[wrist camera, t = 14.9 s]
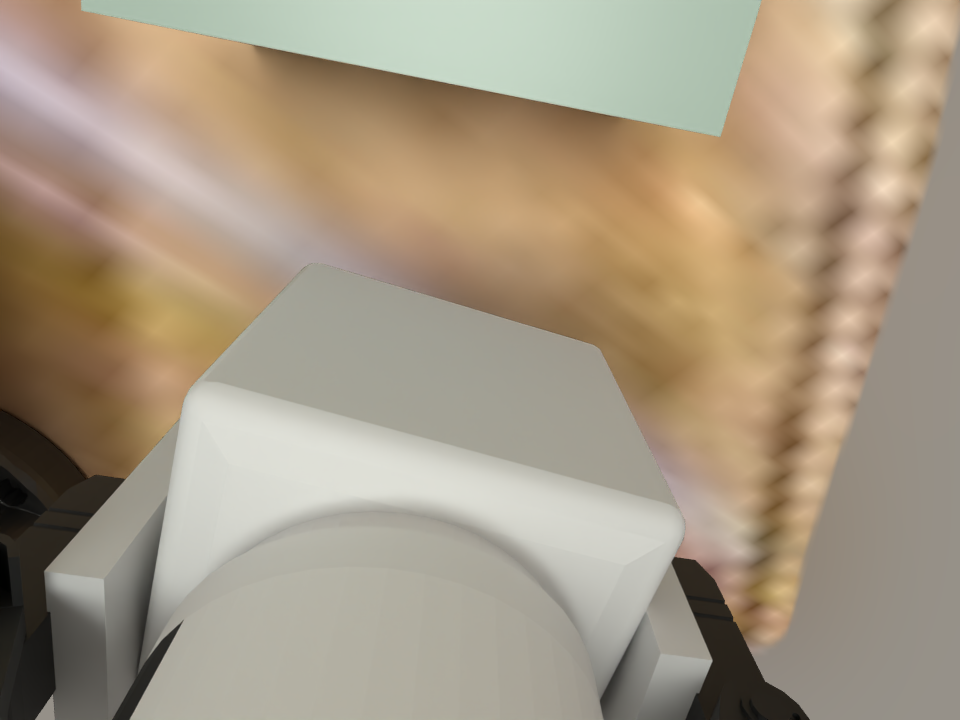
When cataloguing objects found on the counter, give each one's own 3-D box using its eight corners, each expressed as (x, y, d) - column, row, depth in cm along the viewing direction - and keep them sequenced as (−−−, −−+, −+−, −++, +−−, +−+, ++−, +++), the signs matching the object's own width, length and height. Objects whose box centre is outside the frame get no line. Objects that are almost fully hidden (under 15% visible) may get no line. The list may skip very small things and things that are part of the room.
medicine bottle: (509, 576, 18) (567, 1330, 7) (250, 512, 17) (-142, 1257, 6) (605, 343, 16) (927, 951, 5) (307, 254, 15) (-177, 739, 4)
